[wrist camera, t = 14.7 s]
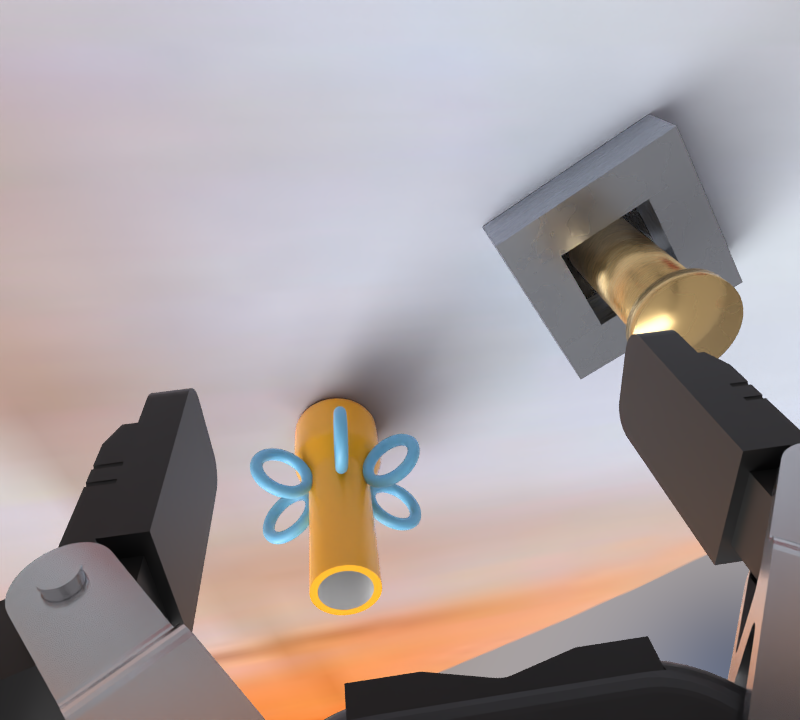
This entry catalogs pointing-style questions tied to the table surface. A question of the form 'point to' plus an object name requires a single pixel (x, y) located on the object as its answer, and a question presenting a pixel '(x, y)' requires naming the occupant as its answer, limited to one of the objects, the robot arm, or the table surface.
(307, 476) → the tube with loops
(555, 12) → the table surface
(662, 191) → the jig
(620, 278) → the gold capped peg
